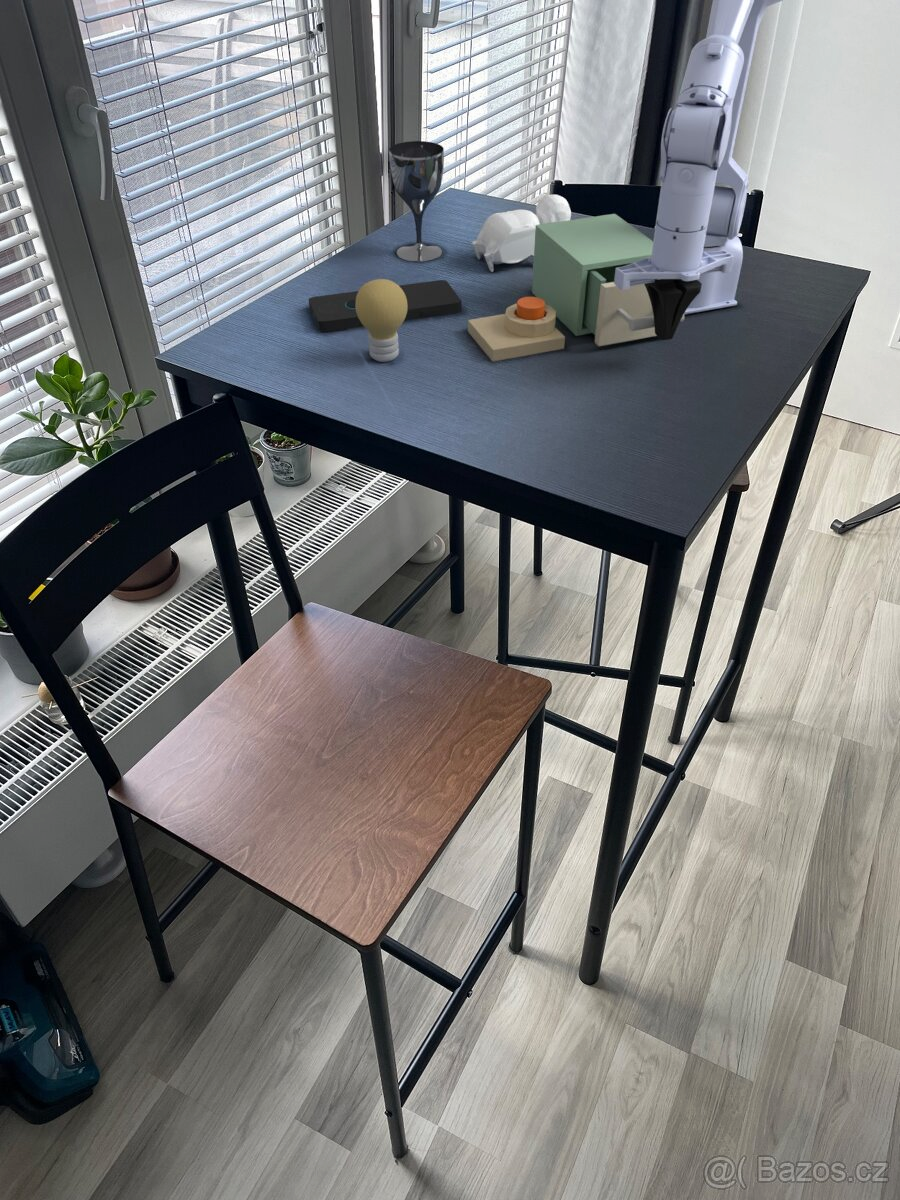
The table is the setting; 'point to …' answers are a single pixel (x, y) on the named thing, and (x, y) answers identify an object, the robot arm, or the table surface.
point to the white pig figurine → (517, 231)
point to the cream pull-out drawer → (616, 309)
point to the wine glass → (417, 188)
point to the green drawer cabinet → (580, 260)
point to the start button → (530, 308)
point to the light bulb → (382, 316)
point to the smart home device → (420, 300)
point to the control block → (516, 334)
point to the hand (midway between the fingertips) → (663, 336)
